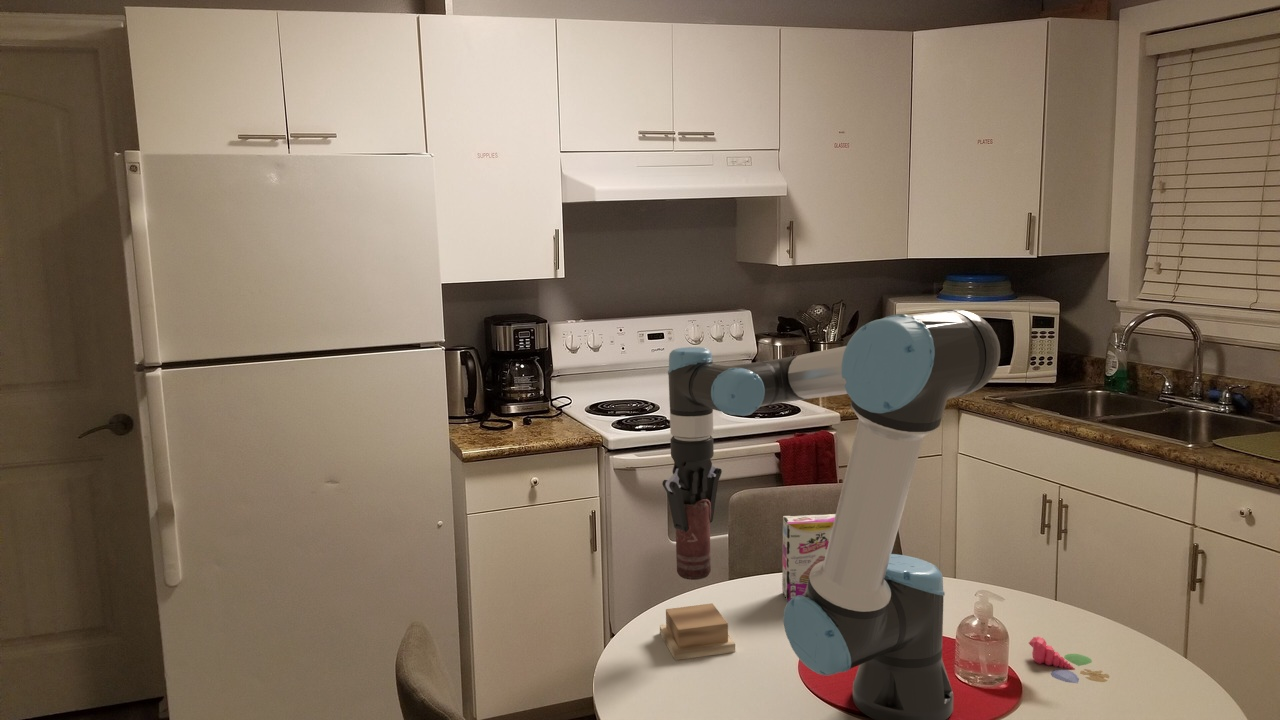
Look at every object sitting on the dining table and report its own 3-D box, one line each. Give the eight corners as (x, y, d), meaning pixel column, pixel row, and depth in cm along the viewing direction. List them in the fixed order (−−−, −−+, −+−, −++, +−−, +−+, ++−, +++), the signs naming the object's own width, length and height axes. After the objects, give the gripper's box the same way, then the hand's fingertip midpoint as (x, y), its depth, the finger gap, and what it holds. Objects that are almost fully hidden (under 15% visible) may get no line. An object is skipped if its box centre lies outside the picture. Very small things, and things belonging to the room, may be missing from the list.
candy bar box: (787, 602, 182) (786, 523, 180) (781, 592, 187) (781, 515, 184) (842, 599, 183) (842, 520, 180) (835, 589, 188) (835, 512, 185)
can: (713, 580, 162) (711, 504, 159) (677, 580, 162) (675, 505, 159) (711, 566, 168) (709, 493, 165) (676, 567, 168) (674, 494, 165)
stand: (735, 651, 162) (734, 625, 161) (675, 660, 160) (674, 633, 159) (716, 625, 173) (716, 600, 172) (659, 633, 170) (659, 607, 170)
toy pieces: (1036, 682, 149) (1037, 657, 148) (1025, 651, 159) (1026, 627, 159) (1117, 690, 146) (1118, 664, 145) (1101, 657, 156) (1102, 633, 156)
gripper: (701, 426, 168) (704, 549, 171) (649, 439, 159) (653, 569, 162) (732, 432, 162) (734, 559, 166) (680, 446, 153) (683, 580, 157)
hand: (694, 564), depth 164 cm, fingers closed
